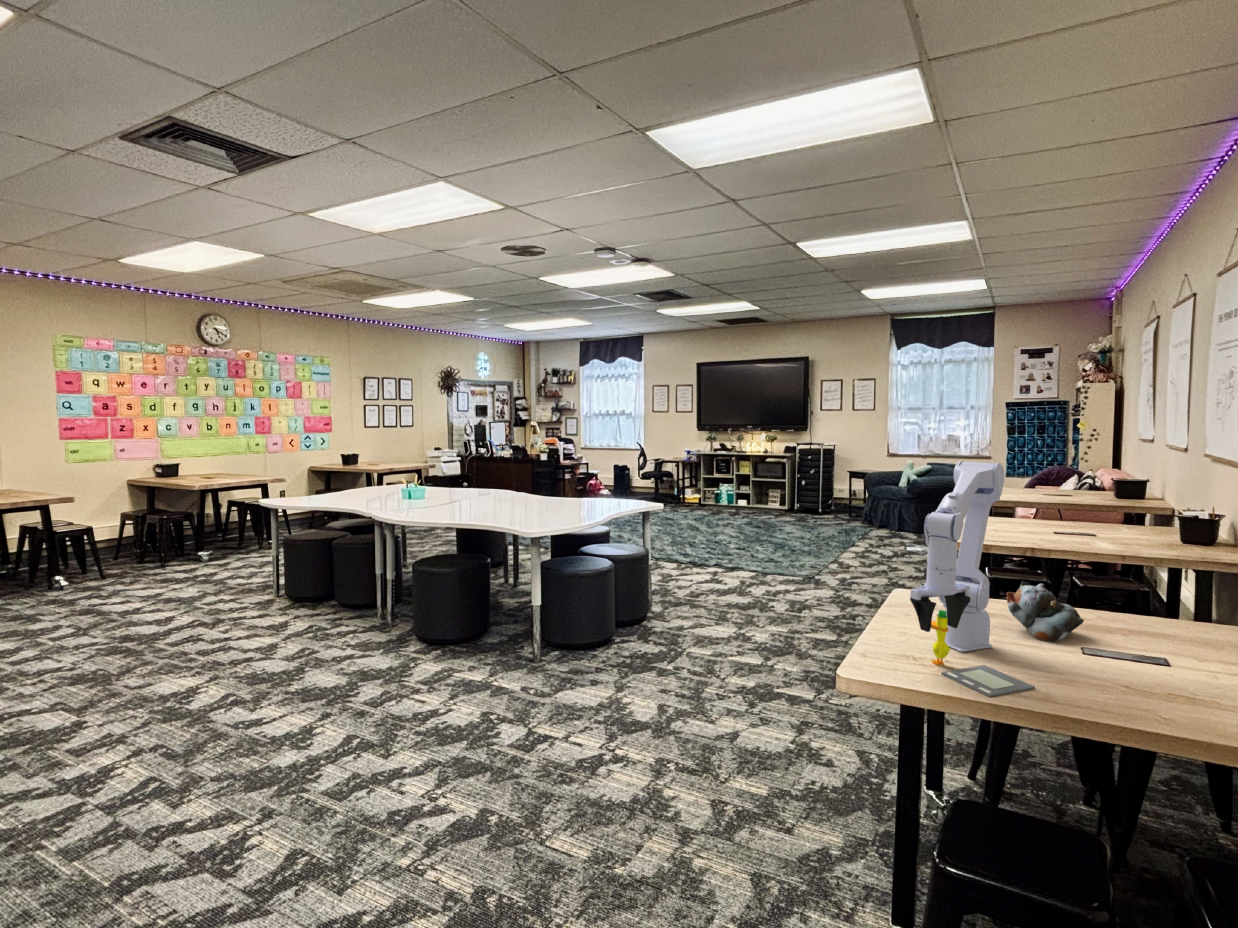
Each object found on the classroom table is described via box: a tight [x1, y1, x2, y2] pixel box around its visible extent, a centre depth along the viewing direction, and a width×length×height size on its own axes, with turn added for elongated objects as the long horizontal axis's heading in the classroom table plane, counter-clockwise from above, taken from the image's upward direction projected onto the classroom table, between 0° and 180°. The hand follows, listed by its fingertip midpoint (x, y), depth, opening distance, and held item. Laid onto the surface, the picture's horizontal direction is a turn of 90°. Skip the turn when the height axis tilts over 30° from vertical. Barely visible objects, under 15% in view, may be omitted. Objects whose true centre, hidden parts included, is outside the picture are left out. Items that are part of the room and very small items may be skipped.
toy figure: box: [931, 609, 951, 666], centre depth 147 cm, size 7×4×12 cm, turn 20°
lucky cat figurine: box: [1006, 580, 1085, 643], centre depth 167 cm, size 15×12×14 cm
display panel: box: [940, 664, 1036, 698], centre depth 138 cm, size 12×12×1 cm
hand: (938, 628), depth 147 cm, fingers open, 7 cm apart
